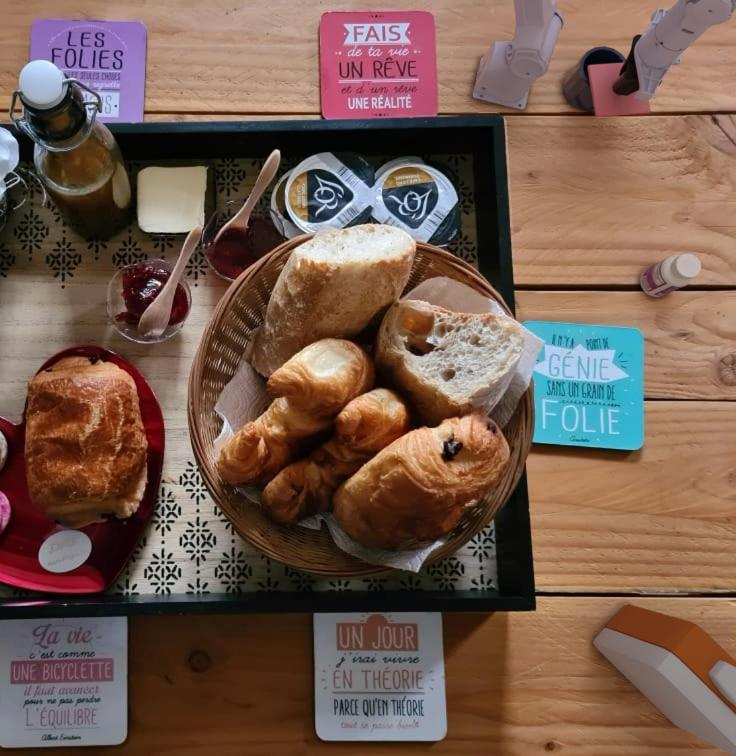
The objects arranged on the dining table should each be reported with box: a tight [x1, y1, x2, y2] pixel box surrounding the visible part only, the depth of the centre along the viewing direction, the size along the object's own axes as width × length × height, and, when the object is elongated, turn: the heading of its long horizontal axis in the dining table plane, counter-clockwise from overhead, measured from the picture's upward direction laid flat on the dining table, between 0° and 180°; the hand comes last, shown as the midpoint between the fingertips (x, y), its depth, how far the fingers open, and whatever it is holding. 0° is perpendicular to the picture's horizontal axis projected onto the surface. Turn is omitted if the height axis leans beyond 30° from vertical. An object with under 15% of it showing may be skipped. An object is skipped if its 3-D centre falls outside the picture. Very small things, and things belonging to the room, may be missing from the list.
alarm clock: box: [592, 603, 736, 756], centre depth 106 cm, size 18×9×21 cm, turn 45°
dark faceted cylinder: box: [562, 45, 627, 112], centre depth 128 cm, size 8×8×6 cm
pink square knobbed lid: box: [587, 63, 652, 118], centre depth 119 cm, size 9×9×4 cm
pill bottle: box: [639, 253, 702, 298], centre depth 121 cm, size 5×5×10 cm
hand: (623, 84), depth 120 cm, fingers closed on pink square knobbed lid, 2 cm apart
